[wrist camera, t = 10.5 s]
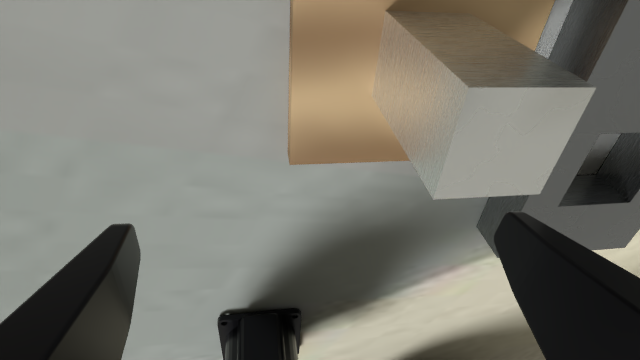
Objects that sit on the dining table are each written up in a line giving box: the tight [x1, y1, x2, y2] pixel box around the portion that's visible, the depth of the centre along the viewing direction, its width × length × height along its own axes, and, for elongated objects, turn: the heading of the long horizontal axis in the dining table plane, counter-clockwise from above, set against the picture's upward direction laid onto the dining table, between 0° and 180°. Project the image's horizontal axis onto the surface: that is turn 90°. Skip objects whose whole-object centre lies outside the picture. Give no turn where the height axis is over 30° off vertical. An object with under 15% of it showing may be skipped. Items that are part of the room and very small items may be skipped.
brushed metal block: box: [372, 11, 596, 200], centre depth 15 cm, size 4×4×8 cm
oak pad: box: [288, 0, 555, 165], centre depth 19 cm, size 12×12×1 cm
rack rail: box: [477, 0, 640, 258], centre depth 21 cm, size 22×10×3 cm, turn 176°
